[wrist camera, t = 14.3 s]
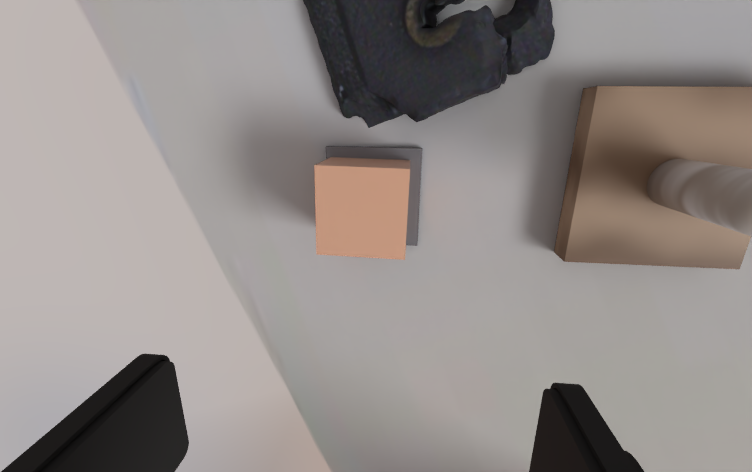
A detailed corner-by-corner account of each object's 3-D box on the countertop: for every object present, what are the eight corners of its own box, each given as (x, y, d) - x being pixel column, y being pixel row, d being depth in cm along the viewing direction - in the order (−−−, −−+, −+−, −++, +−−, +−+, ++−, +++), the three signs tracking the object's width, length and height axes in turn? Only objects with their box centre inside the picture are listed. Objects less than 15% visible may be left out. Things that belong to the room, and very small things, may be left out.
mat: (417, 243, 29) (417, 245, 29) (330, 240, 30) (328, 242, 29) (421, 148, 27) (422, 148, 26) (327, 146, 27) (326, 146, 27)
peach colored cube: (410, 160, 27) (410, 169, 22) (405, 236, 29) (404, 259, 24) (330, 157, 27) (314, 165, 23) (331, 232, 29) (316, 254, 24)
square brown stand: (716, 258, 27) (855, 321, 19) (554, 252, 28) (615, 309, 20) (772, 89, 24) (976, 73, 15) (583, 88, 25) (674, 72, 16)
